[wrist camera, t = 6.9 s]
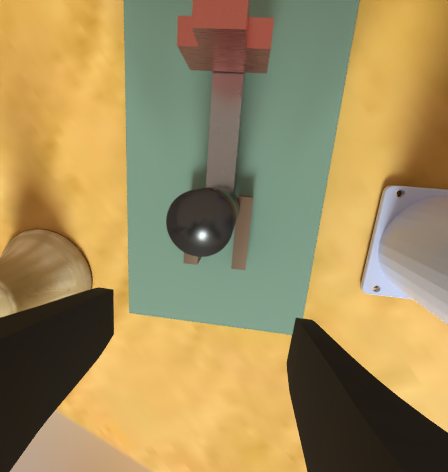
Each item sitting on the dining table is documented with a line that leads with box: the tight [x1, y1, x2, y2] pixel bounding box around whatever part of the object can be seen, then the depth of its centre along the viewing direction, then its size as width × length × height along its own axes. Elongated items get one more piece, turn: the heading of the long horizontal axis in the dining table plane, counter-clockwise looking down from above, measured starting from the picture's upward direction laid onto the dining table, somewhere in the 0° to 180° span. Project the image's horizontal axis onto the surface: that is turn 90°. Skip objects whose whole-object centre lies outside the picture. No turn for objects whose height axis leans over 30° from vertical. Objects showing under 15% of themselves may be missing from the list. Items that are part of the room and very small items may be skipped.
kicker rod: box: [166, 0, 274, 257], centre depth 12 cm, size 4×11×7 cm, turn 176°
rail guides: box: [183, 195, 253, 270], centre depth 17 cm, size 4×5×1 cm
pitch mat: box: [124, 0, 360, 335], centre depth 17 cm, size 14×23×1 cm, turn 176°
